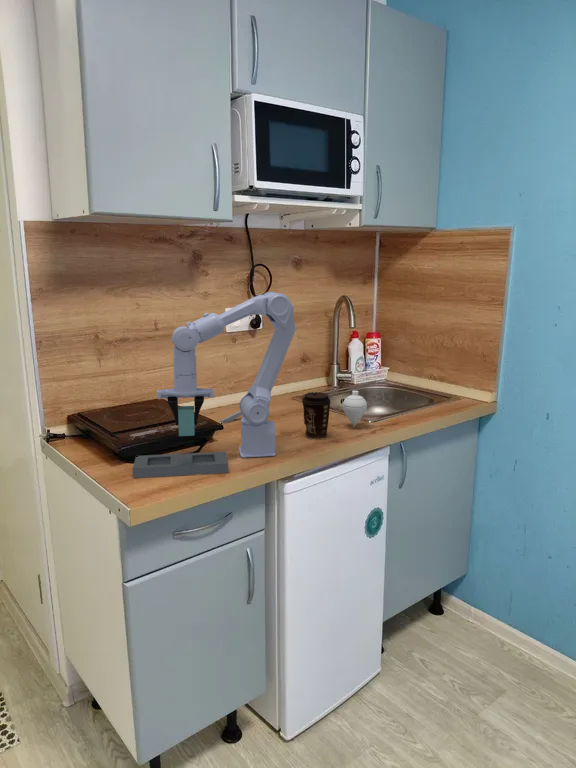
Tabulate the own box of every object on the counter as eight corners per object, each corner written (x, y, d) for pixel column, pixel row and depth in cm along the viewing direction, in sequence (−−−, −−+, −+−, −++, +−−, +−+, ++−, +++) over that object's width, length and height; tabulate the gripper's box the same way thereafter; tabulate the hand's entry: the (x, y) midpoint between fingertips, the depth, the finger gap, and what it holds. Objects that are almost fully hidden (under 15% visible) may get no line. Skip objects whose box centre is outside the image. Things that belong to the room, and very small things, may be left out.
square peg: (194, 431, 151) (193, 405, 149) (194, 435, 147) (193, 409, 146) (179, 431, 150) (178, 406, 149) (178, 436, 146) (178, 410, 145)
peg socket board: (226, 460, 149) (226, 451, 148) (228, 472, 140) (228, 463, 140) (136, 465, 145) (136, 455, 145) (133, 478, 136) (132, 468, 136)
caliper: (263, 413, 196) (263, 395, 195) (265, 413, 196) (265, 396, 194) (217, 425, 182) (217, 406, 180) (220, 425, 181) (219, 406, 180)
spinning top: (338, 429, 177) (339, 392, 175) (346, 423, 184) (348, 387, 181) (361, 432, 174) (363, 394, 171) (369, 426, 181) (370, 389, 178)
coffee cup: (307, 430, 175) (308, 390, 173) (333, 433, 172) (334, 392, 170) (297, 438, 167) (298, 396, 165) (324, 442, 164) (325, 399, 162)
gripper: (213, 370, 150) (213, 419, 153) (157, 371, 148) (159, 420, 151) (214, 375, 143) (214, 426, 146) (155, 376, 141) (157, 428, 144)
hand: (186, 424), depth 148 cm, fingers closed on square peg, 4 cm apart
